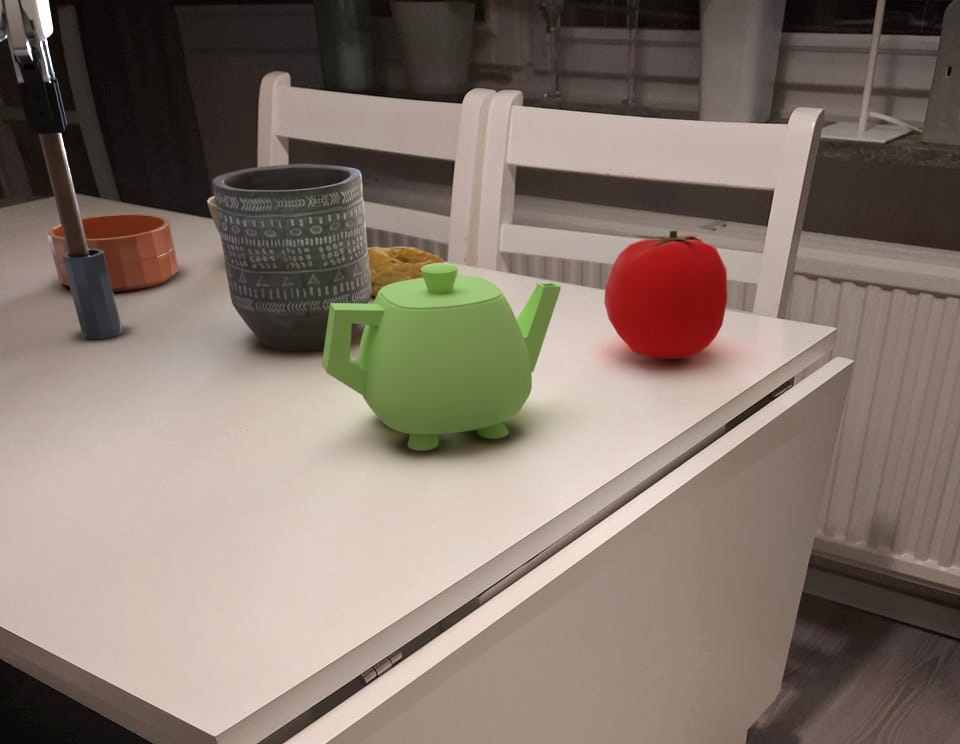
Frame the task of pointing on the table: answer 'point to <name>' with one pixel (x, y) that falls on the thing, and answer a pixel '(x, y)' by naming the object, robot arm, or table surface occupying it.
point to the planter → (293, 249)
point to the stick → (64, 194)
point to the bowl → (124, 248)
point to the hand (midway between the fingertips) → (48, 129)
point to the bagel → (397, 265)
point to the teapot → (441, 353)
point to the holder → (93, 295)
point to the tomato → (667, 296)
